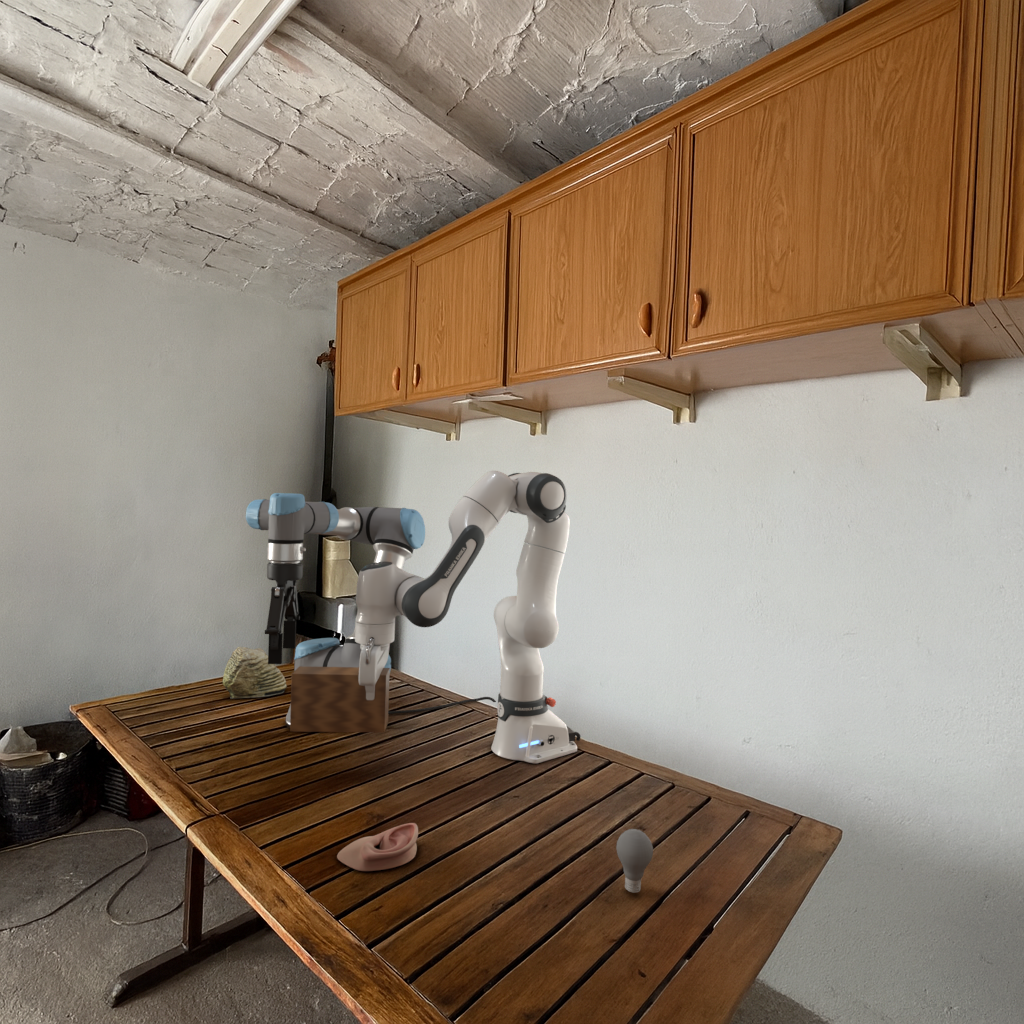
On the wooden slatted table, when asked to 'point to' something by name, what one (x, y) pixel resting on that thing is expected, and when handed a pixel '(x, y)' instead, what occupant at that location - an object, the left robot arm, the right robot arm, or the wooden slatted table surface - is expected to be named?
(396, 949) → the wooden slatted table surface
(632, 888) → the light bulb
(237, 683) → the fossil
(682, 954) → the wooden slatted table surface
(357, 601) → the right robot arm
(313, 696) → the box
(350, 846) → the anatomical model
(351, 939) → the wooden slatted table surface
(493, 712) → the wooden slatted table surface
